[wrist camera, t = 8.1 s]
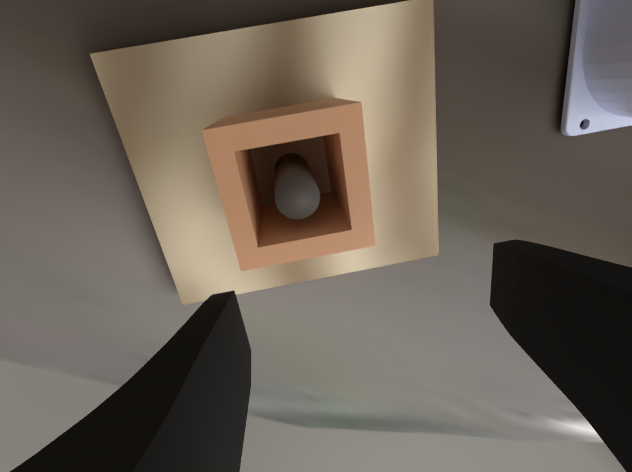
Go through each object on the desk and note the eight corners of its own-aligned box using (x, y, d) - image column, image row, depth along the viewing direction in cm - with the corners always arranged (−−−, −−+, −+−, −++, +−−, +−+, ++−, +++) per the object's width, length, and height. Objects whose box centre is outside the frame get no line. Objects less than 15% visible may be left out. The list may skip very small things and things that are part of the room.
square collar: (335, 98, 16) (361, 102, 11) (349, 204, 18) (375, 245, 13) (223, 117, 15) (201, 130, 11) (249, 222, 17) (241, 271, 13)
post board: (422, 2, 16) (496, -40, 10) (429, 246, 20) (483, 301, 15) (103, 56, 15) (11, 39, 10) (187, 292, 20) (156, 366, 15)
